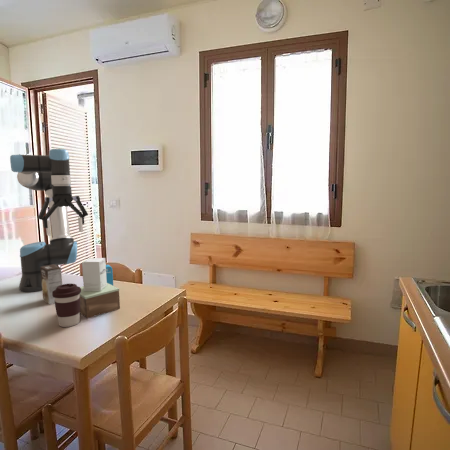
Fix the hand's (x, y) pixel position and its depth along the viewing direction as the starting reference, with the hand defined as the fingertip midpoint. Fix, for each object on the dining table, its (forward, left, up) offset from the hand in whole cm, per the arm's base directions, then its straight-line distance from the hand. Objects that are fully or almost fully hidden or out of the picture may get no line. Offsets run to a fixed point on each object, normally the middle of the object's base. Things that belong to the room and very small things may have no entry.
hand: (65, 233), depth 145 cm
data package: (-7, +17, -32) cm, 37 cm away
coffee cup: (+24, -9, -32) cm, 41 cm away
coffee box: (-8, -5, -32) cm, 33 cm away
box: (+17, +5, -32) cm, 36 cm away
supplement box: (+17, +5, -23) cm, 29 cm away
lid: (+17, +5, -24) cm, 29 cm away
